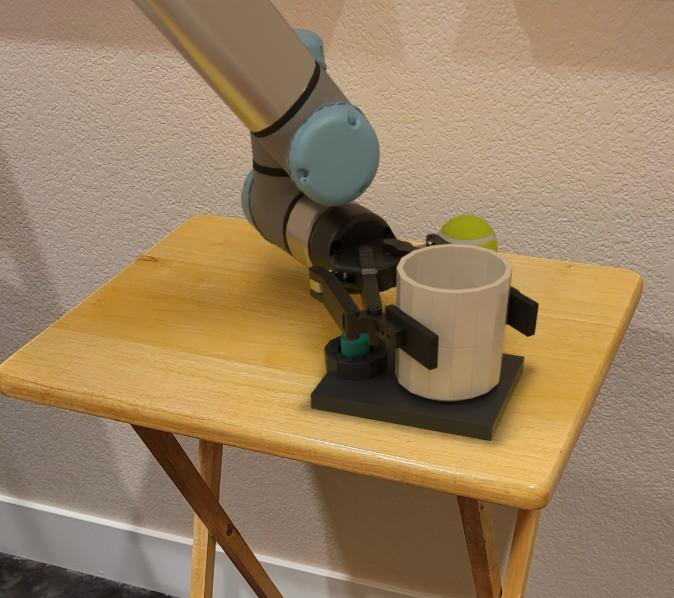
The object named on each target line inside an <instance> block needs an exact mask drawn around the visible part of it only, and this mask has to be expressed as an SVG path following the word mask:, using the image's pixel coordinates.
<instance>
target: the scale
mask: <svg viewBox="0 0 674 598" xmlns="http://www.w3.org/2000/svg"><path fill="white" fill-rule="evenodd" d="M323 356H324V366H325V369H326V373H325V374H324V375H323V377H322V378H321V380H320V381H319V382H318V384H317V385H316V386H315V387H314V389H313V390H312V391H311V392H310V408H311V409H315V410H319V411H324V412H325V411H326V412H332V413H335V414H342V415H348V416H353V417H359V418H364V419H369V420H375V421H381V422H387V423H391V424H396V425H397V424H398V425H404V426H409V427H415V428H420V429H426V430H431V431H436V432H440V433H441V432H442V433H446V434H452V435H459V436H464V437H469V438H474V439H475V438H476V439H480V440H486V441H492V439H493V437H494V435H495V433H496V430H497V428H498V426H499V424H500V421H501V420H502V418H503V415H504V413H505V411H506V409H507V406H508V404H509V403H510V399H511V397H512V395H513V393H514V391H515V388H516V386H517V384H518V382H519V380H520V378H521V375H522V374H523V371H524V364H525V356H523V355H517V354H510V353H505V352H503V361H502V370H501V376H500V380H499V383H498V384H497V385H496V386H495V387H494V388H492V389H491V390H490V391H489V392H487V393H485V394H482V395H480V396H477V397H474V398H471V399H467V400H462V401H437V400H431V399H428V398H424V397H422V396H419V395H417V394H414V393H411V392H410V391H408V390H407V389H406V388H404V387H403V386H402V385H401V384H399V382H398V379H397V376H396V374H395V348H393V347H390V346H389V345H388V344H387V343H385V342H384V341H382V344H381V345H379V346H371V345H370V354H368V355H365V356H362V357H349V356H345V355H343V354H342V353H341V335H338V336H336V337H334V338H332V339H329V341H328V342H327V343H326V344H325V346H324V347H323Z"/></svg>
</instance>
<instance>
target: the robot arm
mask: <svg viewBox="0 0 674 598" xmlns="http://www.w3.org/2000/svg"><path fill="white" fill-rule="evenodd" d="M130 2H131V3H133V5H134V6H135V7H136V8H137V9H138V10H139V11H140V12H141V13H142V15H143V16H144V17H145V18H146V19H147V20H148V21H149V22H150V23H151V24H152V25H153V27H155V29H156V30H157V31H158V32H159V34H161V35H162V36H163V37H164V39H165V40H166V41H167V42H168V43H169V44H170V45H171V46H172V47H173V48H174V49H175V51H176V52H177V53H178V54H179V55H180V56H181V58H183V60H184V61H185V62H186V63H187V64H188V65H189V67H191V68H192V69H193V70H194V72H195V73H196V74H197V75H198V76H199V77H200V78H201V79H202V80H203V81H204V82H205V84H206V85H207V86H208V87H209V88H210V89H211V90H212V91H213V93H214V94H216V96H217V97H218V98H219V99H220V100H221V101H222V102H223V103H224V105H225V106H226V107H227V108H228V109H229V110H230V111H231V112H232V113H233V114H234V115H235V116H236V118H237V119H238V120H239V121H240V122H241V123H242V125H244V126H245V127H246V129H248V131H249V133H250V134H249V135H250V136H249V137H250V146H251V153H252V155H251V156H252V168H251V170H250V171H249V172H248V173H247V175H246V177H245V179H244V180H245V181H244V184H243V185H242V190H241V193H240V203H241V208H242V212H243V214H244V217H245V219H246V220H247V222H248V224H249V225H251V226H252V228H253V229H255V230H256V231H257V232H258V233H259V236H260V237H262V238H263V239H264V240H265V241H266V242H268V243H270V245H274V246H276V247H277V248H279V249H280V250H282V251H284V252H285V253H286V254H288V255H290V256H291V257H292V258H294V260H296V261H297V262H299V263H300V264H302V265H303V266H305V268H307V269H308V281H309V294H310V295H309V296H310V297H311V298H313V299H314V300H316V301H318V302H320V303H321V304H323V306H324V308H325V309H326V310H327V312H328V314H329V315H330V317H331V318H332V320H333V321H334V323H335V324H336V326H337V327H338V329H339V330H340V332H341V334H342V333H343V335H344V336H345V338H346V339H348V340H357V339H359V337H360V334H363V333H368V344H369V345H371V346H379V345H381V344H382V341H384V342H385V343H387V344H388V345H389V346H390V347H393V348H400V349H401V350H403V351H404V352H405V353H407V354H408V355H409V356H411V357H412V358H413V359H415V360H416V361H417V362H419V363H420V364H421V365H423V366H424V367H425V368H427V369H428V370H429V371H430V370H433V369H436V368H437V366H438V345H439V336H438V335H437V334H435V333H434V332H432V331H431V330H429V329H428V328H427V327H425V326H424V325H422V324H421V323H419V322H418V321H416V320H415V319H414V318H412V317H411V316H409V315H408V314H406V313H405V312H403V311H402V310H401V309H399V308H398V307H396V304H393V303H392V304H389V305H385V306H384V311H383V303H382V298H381V294H380V293H383V292H386V291H389V290H391V289H393V288H394V289H395V288H396V280H397V266H398V264H399V262H400V260H401V258H403V257H404V256H406V255H407V254H409V253H411V252H412V251H414V250H418V249H421V248H425V247H428V246H433V245H444V244H453V243H450V242H447V241H446V240H444V239H443V238H442V237H440V236H439V235H437V233H429V234H426V236H425V243H422V244H416V245H414V244H412V243H411V242H410V241H407V240H402V239H398V238H397V236H396V235H395V234H394V231H393V230H392V228H391V226H390V225H389V223H388V222H387V221H386V220H385V219H384V218H383V217H382V216H381V215H379V214H377V213H375V212H374V211H372V210H370V209H368V208H367V207H366V206H364V205H361V204H360V203H359V202H358V201H356V200H357V199H358V198H360V197H361V196H362V195H363V194H364V193H366V191H367V189H369V188H370V186H371V184H372V183H373V181H374V179H375V178H376V175H377V173H378V170H379V165H380V159H381V148H380V143H379V138H378V135H377V133H376V131H375V129H374V127H373V125H372V124H371V122H370V121H369V119H368V118H367V116H366V115H365V114H364V112H363V111H362V110H361V108H359V107H357V105H353V104H352V102H351V101H350V100H349V99H348V98H347V96H346V95H345V94H344V92H343V91H342V90H341V88H340V87H339V86H338V85H337V84H336V82H335V81H334V80H333V78H332V77H331V76H330V74H329V73H328V72H327V70H328V65H327V64H326V59H325V50H324V43H323V39H322V37H321V36H320V35H319V34H318V33H316V32H314V31H312V30H309V29H304V28H294V27H292V26H291V25H290V24H289V22H288V21H287V20H286V18H285V17H284V16H283V15H282V13H281V12H280V11H279V10H278V8H277V7H276V6H275V5H274V3H273V2H272V1H271V0H130ZM355 295H359V296H360V301H361V305H362V308H363V309H362V310H360V308H359V306H358V305H357V303H356V302H355V301H354V300H353V298H352V297H351V296H355ZM539 306H540V303H539V302H537V301H536V300H534V299H532V298H530V297H529V296H527V295H525V294H523V293H521V291H520V290H519V289H518V288H517V287H514V286H512V285H511V287H510V296H509V306H508V315H507V323H506V326H509V327H510V328H512V329H514V330H515V331H517V332H519V333H520V334H522V335H524V336H525V337H527V338H529V337H533V336H535V335H536V329H537V321H538V316H539V315H538V313H539Z"/></svg>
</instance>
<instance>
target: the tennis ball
mask: <svg viewBox="0 0 674 598" xmlns="http://www.w3.org/2000/svg"><path fill="white" fill-rule="evenodd" d="M436 234H437V235H439V236H440V237H442V238H443V239H444V240H446V241H447V242H450V243H453V244H463V245H475V246H479V247H483V248H486V249H490V250H494V251H495V252H497V253H498V251H499V250H498V249H499V248H498V239H497V236H496V232H495V231H494V229H493V228H492V226H491V225H490V224H489V223H488V222H487V221H486V220H485V219H483V218H481V217H479V216H476V215H473V214H462V215H458V216H454V217H453V218H450V219H449V220H448V221H446V222H445V223H444V224H443V225H442V227H441V228H440V229H439V230H438V231H437V233H436Z"/></svg>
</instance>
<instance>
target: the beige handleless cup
mask: <svg viewBox="0 0 674 598" xmlns="http://www.w3.org/2000/svg"><path fill="white" fill-rule="evenodd" d="M513 269H514V268H513V265H512V264H511V262H510V261H509V258H507V257H506V256H504V255H503V254H501V253H499V252H498V251H497V252H495V251H494V250H490V249H486V248H483V247H479V246H475V245H463V244H444V245H433V246H428V247H425V248H421V249H418V250H414V251H412V252H411V253H409V254H407V255H406V256H404V257H403V258H401V260H400V262H399V264H398V266H397V280H396V287H395V290H396V293H395V306H396V307H398V308H399V309H401V310H402V311H403V312H405V313H406V314H408V315H409V316H411V317H412V318H414V319H415V320H416V321H418V322H419V323H421V324H422V325H424V326H425V327H427V328H428V329H429V330H431V331H432V332H434V333H435V334H437V335H438V336H439V345H438V366H437V368H436V369H433V370H430V371H429V370H428V369H427V368H425V367H424V366H423V365H421V364H420V363H419V362H417V361H416V360H415V359H413V358H412V357H411V356H409V355H408V354H407V353H405V352H404V351H403V350H401V349H400V348H395V374H396V376H397V379H398V382H399V384H401V385H402V386H403V387H404V388H406V389H407V390H408V391H410V392H411V393H414V394H417V395H419V396H422V397H424V398H428V399H431V400H437V401H462V400H467V399H471V398H474V397H477V396H480V395H482V394H485V393H487V392H489V391H490V390H491V389H492V388H494V387H495V386H496V385H497V384H498V383H499V380H500V376H501V370H502V361H503V353H505V352H504V351H505V342H506V334H507V333H506V332H507V324H506V323H507V315H508V306H509V296H510V287H511V286H512V279H513V278H512V277H513Z"/></svg>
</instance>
